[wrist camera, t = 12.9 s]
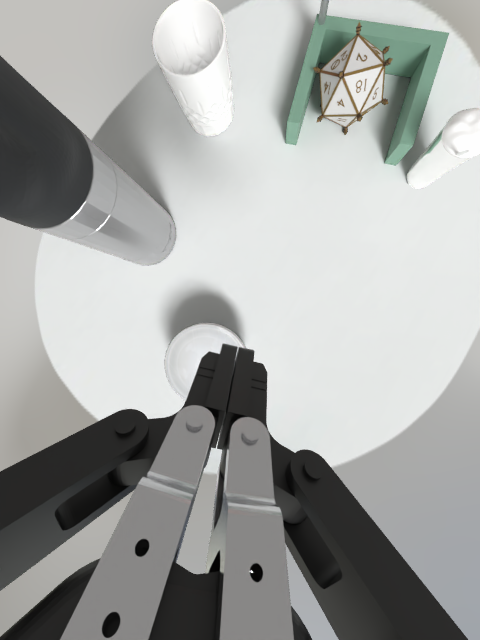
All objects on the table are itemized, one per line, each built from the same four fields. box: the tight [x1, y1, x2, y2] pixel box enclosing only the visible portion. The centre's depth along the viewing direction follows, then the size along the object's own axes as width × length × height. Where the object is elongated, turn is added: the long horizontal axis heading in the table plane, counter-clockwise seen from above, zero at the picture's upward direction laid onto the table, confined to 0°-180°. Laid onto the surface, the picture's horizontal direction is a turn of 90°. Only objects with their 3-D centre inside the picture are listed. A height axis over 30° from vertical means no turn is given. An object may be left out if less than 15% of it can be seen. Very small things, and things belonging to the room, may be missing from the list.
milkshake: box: [407, 108, 480, 189], centre depth 27 cm, size 5×5×10 cm
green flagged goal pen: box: [285, 0, 449, 165], centre depth 23 cm, size 15×12×20 cm
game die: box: [313, 22, 393, 135], centre depth 29 cm, size 9×8×10 cm
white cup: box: [152, 0, 234, 137], centre depth 30 cm, size 8×8×10 cm
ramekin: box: [165, 323, 246, 401], centre depth 34 cm, size 11×11×5 cm
